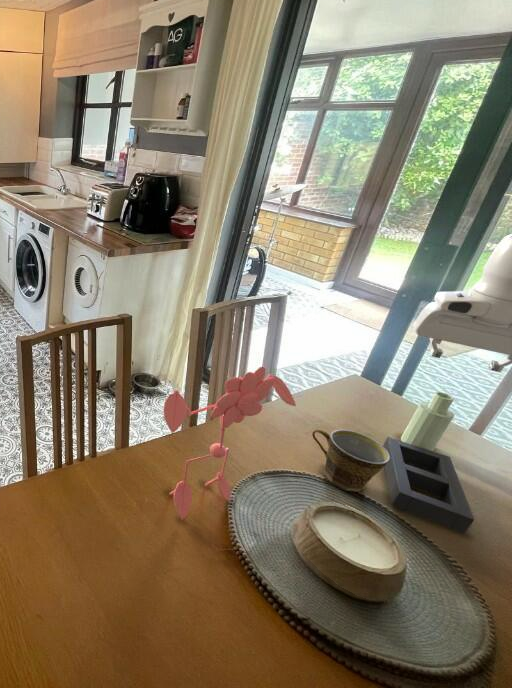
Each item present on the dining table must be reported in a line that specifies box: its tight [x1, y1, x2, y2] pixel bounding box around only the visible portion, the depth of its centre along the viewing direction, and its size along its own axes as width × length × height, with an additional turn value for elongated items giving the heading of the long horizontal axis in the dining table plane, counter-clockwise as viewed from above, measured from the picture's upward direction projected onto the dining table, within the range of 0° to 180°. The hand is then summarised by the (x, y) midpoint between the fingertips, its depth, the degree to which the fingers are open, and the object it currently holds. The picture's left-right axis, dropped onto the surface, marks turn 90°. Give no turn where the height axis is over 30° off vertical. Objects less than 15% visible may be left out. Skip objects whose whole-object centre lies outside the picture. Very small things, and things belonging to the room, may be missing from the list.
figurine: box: [144, 365, 297, 551], centre depth 75 cm, size 15×26×35 cm, turn 106°
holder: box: [382, 436, 475, 534], centre depth 89 cm, size 11×20×4 cm, turn 145°
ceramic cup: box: [311, 429, 390, 493], centre depth 90 cm, size 13×10×10 cm
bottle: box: [400, 391, 455, 452], centre depth 98 cm, size 6×6×15 cm
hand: (463, 363), depth 91 cm, fingers open, 8 cm apart
